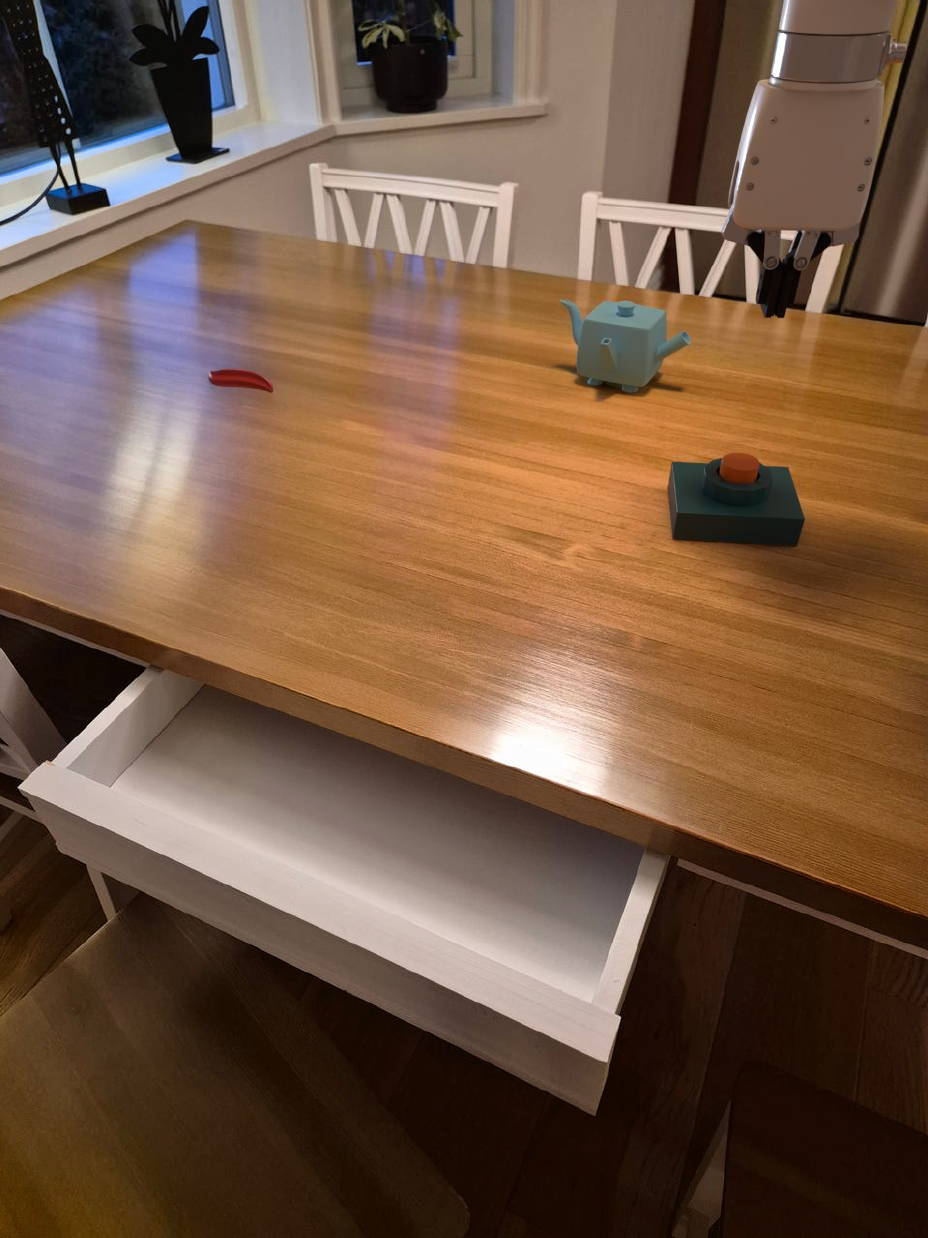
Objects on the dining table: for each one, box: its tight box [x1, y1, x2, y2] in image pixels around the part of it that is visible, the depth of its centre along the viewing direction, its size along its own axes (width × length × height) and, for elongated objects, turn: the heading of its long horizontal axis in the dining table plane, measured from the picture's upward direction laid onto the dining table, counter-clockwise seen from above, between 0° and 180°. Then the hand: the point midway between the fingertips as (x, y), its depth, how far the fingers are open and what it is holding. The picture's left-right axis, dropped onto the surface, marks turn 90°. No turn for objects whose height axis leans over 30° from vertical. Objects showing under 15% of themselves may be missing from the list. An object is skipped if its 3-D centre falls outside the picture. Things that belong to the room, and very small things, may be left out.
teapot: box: [559, 299, 692, 393], centre depth 108 cm, size 18×14×10 cm
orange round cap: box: [719, 452, 761, 484], centre depth 82 cm, size 4×4×2 cm
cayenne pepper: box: [208, 368, 274, 393], centre depth 113 cm, size 12×5×2 cm, turn 50°
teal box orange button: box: [667, 457, 806, 547], centre depth 84 cm, size 12×10×5 cm
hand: (771, 311), depth 73 cm, fingers closed
